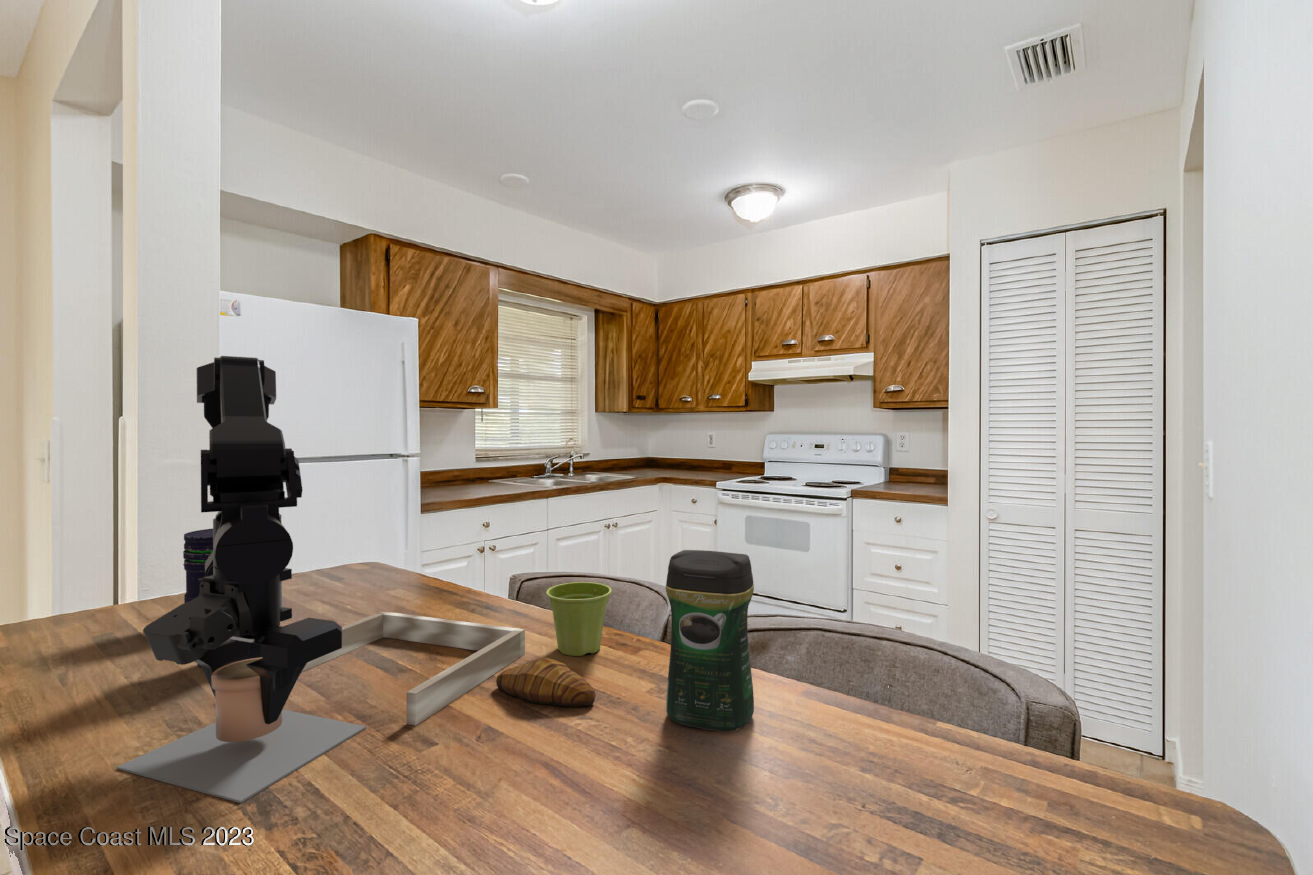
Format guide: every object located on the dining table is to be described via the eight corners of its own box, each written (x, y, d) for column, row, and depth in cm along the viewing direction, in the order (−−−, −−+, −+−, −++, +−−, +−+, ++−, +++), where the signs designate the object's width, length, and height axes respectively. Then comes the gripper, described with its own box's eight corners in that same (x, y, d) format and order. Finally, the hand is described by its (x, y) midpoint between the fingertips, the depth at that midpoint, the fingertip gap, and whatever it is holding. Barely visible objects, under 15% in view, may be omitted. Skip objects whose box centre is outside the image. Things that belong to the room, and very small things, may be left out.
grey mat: (116, 768, 58) (116, 766, 58) (256, 705, 72) (256, 703, 72) (240, 803, 53) (240, 801, 53) (366, 728, 66) (366, 726, 66)
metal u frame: (245, 692, 75) (244, 663, 75) (382, 633, 96) (382, 611, 96) (415, 725, 67) (415, 693, 67) (524, 653, 88) (525, 629, 88)
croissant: (480, 700, 74) (480, 658, 74) (514, 679, 80) (514, 640, 80) (578, 722, 69) (578, 677, 69) (607, 697, 75) (607, 656, 75)
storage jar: (172, 626, 100) (171, 533, 99) (239, 610, 108) (238, 525, 108) (201, 637, 94) (200, 539, 94) (269, 620, 103) (268, 530, 102)
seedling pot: (196, 737, 60) (195, 675, 60) (256, 709, 66) (255, 653, 66) (242, 748, 58) (242, 684, 58) (300, 719, 64) (299, 661, 64)
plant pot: (600, 664, 85) (601, 600, 85) (536, 658, 87) (536, 596, 86) (618, 640, 94) (618, 583, 94) (559, 636, 96) (559, 580, 96)
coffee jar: (759, 709, 71) (761, 548, 71) (743, 741, 64) (744, 562, 64) (680, 695, 75) (681, 542, 75) (656, 724, 68) (657, 554, 67)
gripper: (92, 573, 57) (94, 740, 58) (238, 592, 51) (240, 778, 52) (212, 550, 68) (213, 691, 68) (346, 564, 62) (346, 719, 62)
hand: (249, 717), depth 62 cm, fingers closed on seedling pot, 5 cm apart
